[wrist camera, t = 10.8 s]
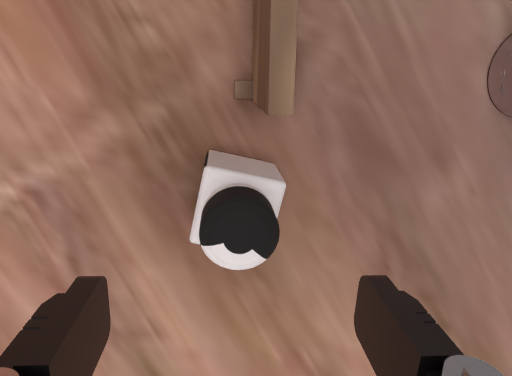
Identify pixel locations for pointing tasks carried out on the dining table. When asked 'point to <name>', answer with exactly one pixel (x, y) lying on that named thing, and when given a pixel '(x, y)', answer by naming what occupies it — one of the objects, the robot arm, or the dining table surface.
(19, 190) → the dining table surface
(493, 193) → the dining table surface
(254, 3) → the screen
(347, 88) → the dining table surface
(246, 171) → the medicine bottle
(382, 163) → the dining table surface
